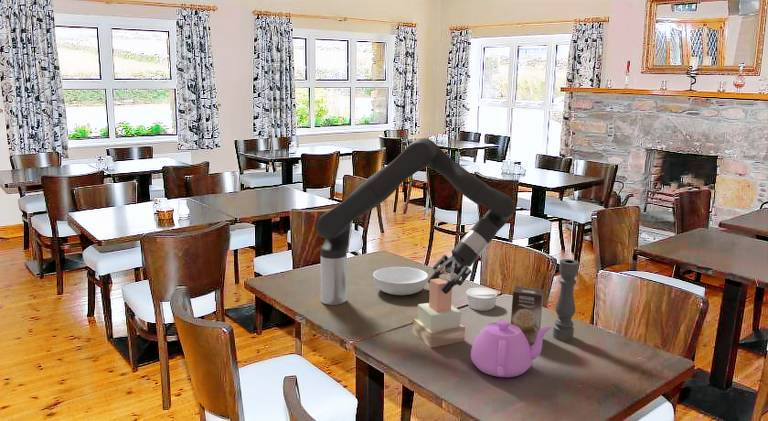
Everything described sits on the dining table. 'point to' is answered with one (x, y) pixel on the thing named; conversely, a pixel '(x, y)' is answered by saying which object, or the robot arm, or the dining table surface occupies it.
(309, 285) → the dining table surface
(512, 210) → the robot arm
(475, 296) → the ramekin
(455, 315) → the tower top block
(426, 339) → the tower base block
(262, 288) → the dining table surface
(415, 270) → the serving bowl
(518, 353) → the teapot
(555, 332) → the candle holder
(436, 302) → the terracotta block
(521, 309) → the coffee box
